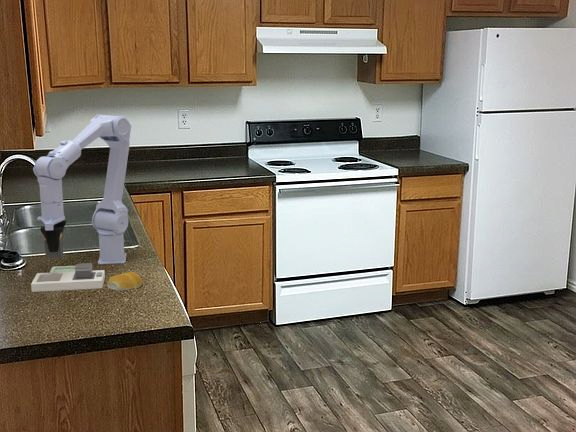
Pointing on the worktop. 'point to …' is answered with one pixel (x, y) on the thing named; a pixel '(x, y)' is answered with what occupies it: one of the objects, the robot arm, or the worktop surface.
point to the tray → (63, 269)
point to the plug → (54, 254)
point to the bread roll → (125, 281)
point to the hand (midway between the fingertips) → (55, 249)
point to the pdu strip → (69, 279)
